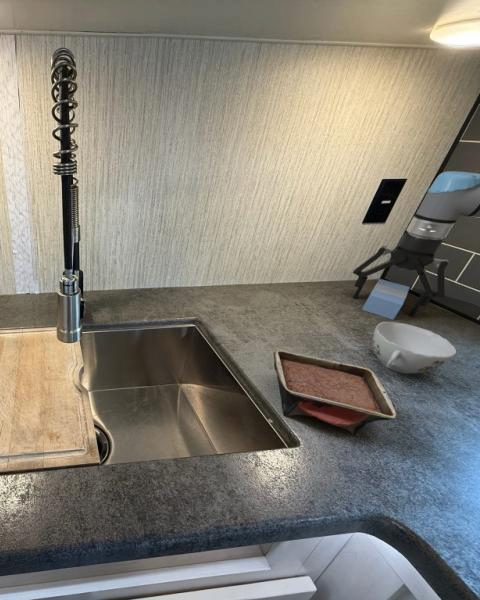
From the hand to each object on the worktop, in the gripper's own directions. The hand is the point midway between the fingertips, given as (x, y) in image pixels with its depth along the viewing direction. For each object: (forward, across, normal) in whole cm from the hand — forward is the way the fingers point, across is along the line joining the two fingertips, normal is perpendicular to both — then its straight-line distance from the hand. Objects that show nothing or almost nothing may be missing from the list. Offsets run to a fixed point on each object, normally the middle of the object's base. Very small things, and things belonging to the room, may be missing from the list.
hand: (381, 305), depth 92 cm
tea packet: (0, 0, 0) cm, 0 cm away
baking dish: (0, -2, -57) cm, 57 cm away
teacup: (0, +6, -32) cm, 33 cm away
